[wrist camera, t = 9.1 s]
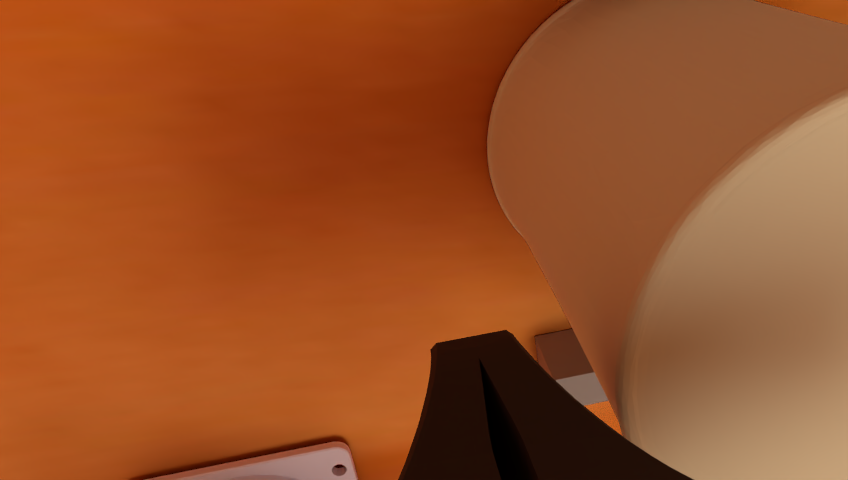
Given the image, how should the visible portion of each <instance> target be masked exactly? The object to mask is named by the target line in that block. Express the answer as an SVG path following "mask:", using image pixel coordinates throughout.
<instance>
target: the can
mask: <svg viewBox="0 0 848 480" xmlns="http://www.w3.org/2000/svg"><path fill="white" fill-rule="evenodd" d="M487 159H488V167H489V174H490V178H491V182H492V186H493V189H494V192H495V195H496V197H497V199H498V202H499V204H500V206H501V208H502V210H503V212H504V213H505V215H506V217H507V218H508V220H509V221H510V222H511V224H512V225H513V227H514V228H515V229H516V230H517V231H518V233H519V234H520V235H521V236H522V237H523V238H524V239H525V241H526V243H527V244H528V246H529V248H530V250H531V252H532V254H533V255H534V257H535V259H536V261H537V263H538V265H539V266H540V268H541V270H542V272H543V274H544V276H545V278H546V279H547V281H548V283H549V285H550V287H551V289H552V291H553V293H554V295H555V296H556V298H557V300H558V302H559V304H560V306H561V308H562V310H563V312H564V314H565V316H566V317H567V319H568V321H569V323H570V325H571V327H572V329H573V331H574V333H575V335H576V337H577V339H578V341H579V343H580V345H581V347H582V349H583V351H584V353H585V355H586V357H587V359H588V361H589V363H590V365H591V367H592V369H593V371H594V373H595V374H596V376H597V378H598V380H599V382H600V384H601V386H602V388H603V390H604V392H605V394H606V396H607V398H608V400H609V402H610V404H611V407H612V409H613V411H614V413H615V415H616V417H617V419H618V421H619V424H620V428H621V431H622V435H623V437H624V438H626V439H627V440H629V441H630V442H632V443H633V444H635V445H636V446H638V447H639V448H641V449H642V450H644V451H645V452H647V453H648V454H650V455H651V456H653V457H654V458H656V459H658V460H659V461H661V462H663V463H664V464H666V465H668V466H669V467H671V468H673V469H675V470H677V471H679V472H680V473H682V474H684V475H686V476H688V477H690V478H692V479H694V480H848V25H845V24H841V23H837V22H833V21H830V20H826V19H822V18H818V17H814V16H810V15H806V14H803V13H799V12H795V11H791V10H787V9H784V8H780V7H776V6H772V5H768V4H764V3H761V2H757V1H754V0H572V1H571V2H569V3H568V4H566V5H565V6H563V7H562V8H561V9H559V10H558V11H557V12H555V13H554V14H553V15H552V16H550V17H549V18H548V19H547V20H546V21H545V22H544V23H542V24H541V25H540V26H539V27H538V29H537V30H536V31H535V32H534V33H533V34H532V35H531V36H530V37H529V38H528V40H527V41H526V42H525V43H524V45H523V46H522V47H521V49H520V50H519V52H518V53H517V55H516V56H515V58H514V59H513V61H512V62H511V64H510V66H509V67H508V69H507V71H506V73H505V75H504V77H503V79H502V81H501V83H500V86H499V88H498V91H497V94H496V97H495V100H494V103H493V106H492V110H491V115H490V120H489V126H488V135H487Z"/></svg>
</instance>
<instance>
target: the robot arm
mask: <svg viewBox="0 0 848 480" xmlns="http://www.w3.org/2000/svg"><path fill="white" fill-rule="evenodd" d="M337 464H342V465H344V467H342V468H336V467H334V466H335V465H337ZM145 480H358V476H357V473H356V469H355V465H354V462H353V458H352V455H351V451H350V449H349V447H348V445H346V444H345V443H343V442H339V441H336V442H329V443H324V444H319V445H314V446H309V447H304V448H299V449H294V450H289V451H284V452H279V453H274V454H269V455H264V456H259V457H254V458H249V459H244V460H239V461H234V462H229V463H224V464H219V465H215V466H210V467H205V468H200V469H195V470H190V471H185V472H180V473H175V474H170V475H165V476H160V477H155V478H150V479H145ZM398 480H694V479H692V478H690V477H688V476H686V475H684V474H682V473H680V472H679V471H677V470H675V469H673V468H671V467H669V466H668V465H666V464H664V463H663V462H661V461H659V460H658V459H656V458H654V457H653V456H651V455H650V454H648V453H647V452H645V451H644V450H642V449H641V448H639V447H638V446H636V445H635V444H633V443H632V442H630V441H629V440H627V439H626V438H624V437H623V436H622V435H620V434H619V433H617V432H616V431H615V430H613V429H612V428H611V427H609V426H608V425H607V424H606V423H604V422H603V421H602V420H600V419H599V418H598V417H597V416H595V415H594V414H593V413H592V412H590V411H589V410H588V409H587V408H586V407H584V406H583V405H582V404H581V403H580V402H579V401H577V400H576V399H575V398H574V397H573V396H572V395H571V394H570V393H568V392H567V391H566V390H565V389H564V388H563V387H562V386H561V385H560V384H559V383H558V382H556V381H555V380H554V379H553V378H552V377H551V376H550V375H549V374H548V373H547V372H546V371H545V370H544V369H543V368H542V367H541V366H540V365H539V364H538V363H537V362H536V361H535V360H534V359H533V357H532V356H531V355H530V354H529V353H528V352H527V351H526V350H525V349H524V348H523V346H522V345H521V344H520V343H519V342H518V340H517V339H516V338H515V337H514V335H513V334H511V333H510V332H508V331H507V330H503V331H498V332H492V333H487V334H482V335H477V336H471V337H466V338H461V339H456V340H450V341H445V342H440V343H436V344H435V345H434V346H433V348H432V349H431V370H430V377H429V383H428V388H427V393H426V398H425V401H424V405H423V409H422V413H421V417H420V421H419V424H418V428H417V431H416V434H415V436H414V439H413V442H412V445H411V448H410V451H409V454H408V457H407V459H406V462H405V465H404V467H403V469H402V472H401V474H400V477H399V479H398Z"/></svg>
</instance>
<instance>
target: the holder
mask: <svg viewBox="0 0 848 480" xmlns="http://www.w3.org/2000/svg"><path fill="white" fill-rule="evenodd" d="M535 342H536V351H537V359H538V364H539V365H540V366H541V367H542V368H543V369H544V370H545V371H546V372H547V373H548V374H549V375H550V376H551V377H552V378H553V379H554V380H555V381H556V382H558V383H559V384H560V385H561V386H562V387H563V388H564V389H565V390H566V391H567V392H568V393H570V394H571V395H572V396H573V397H574V398H575V399H576V400H577V401H579V402H580V403H581V404H582V405H583V406H584V405H589V404H594V403H599V402H604V401H609V400H608V398H607V396H606V394H605V392H604V390H603V388H602V386H601V384H600V382H599V380H598V378H597V376H596V374H595V373H594V371H593V369H592V367H591V365H590V363H589V361H588V359H587V357H586V355H585V353H584V351H583V349H582V347H581V345H580V343H579V341H578V339H577V337H576V335H575V333H574V331H573V329H569V330H564V331H559V332H554V333H549V334H544V335H539V336H535Z"/></svg>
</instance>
